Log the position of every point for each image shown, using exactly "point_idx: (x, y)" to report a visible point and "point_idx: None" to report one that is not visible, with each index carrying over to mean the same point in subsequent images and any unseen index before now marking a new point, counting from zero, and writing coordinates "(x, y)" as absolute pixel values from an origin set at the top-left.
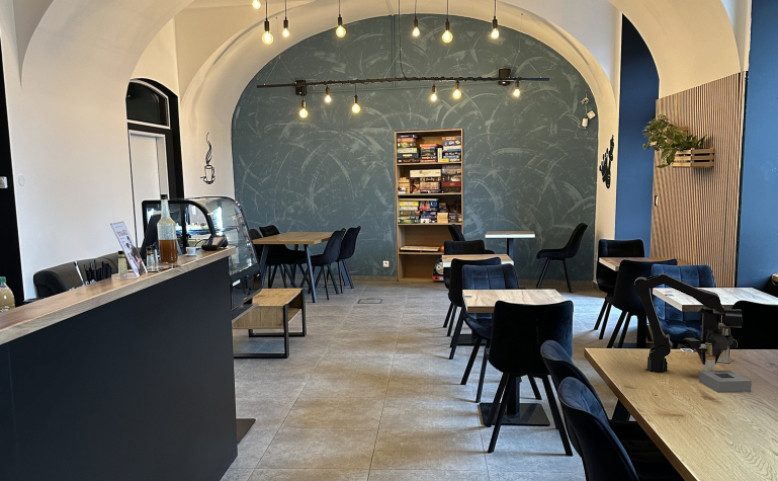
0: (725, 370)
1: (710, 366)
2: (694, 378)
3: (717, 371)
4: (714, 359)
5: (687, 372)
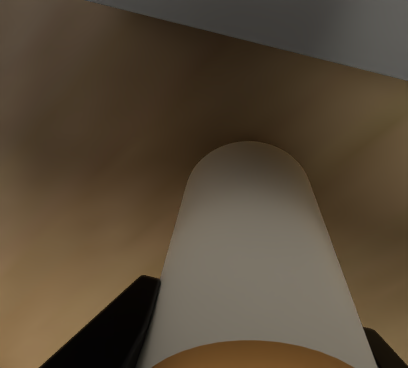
0: (138, 10)
1: (311, 241)
2: (370, 244)
3: (385, 2)
4: (219, 347)
5: None
